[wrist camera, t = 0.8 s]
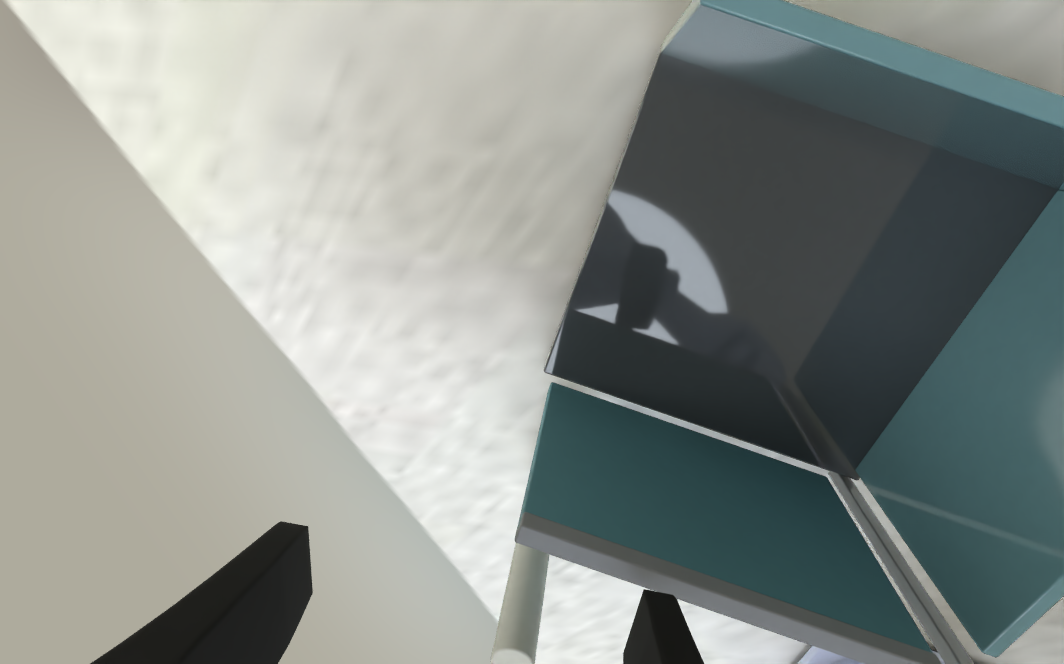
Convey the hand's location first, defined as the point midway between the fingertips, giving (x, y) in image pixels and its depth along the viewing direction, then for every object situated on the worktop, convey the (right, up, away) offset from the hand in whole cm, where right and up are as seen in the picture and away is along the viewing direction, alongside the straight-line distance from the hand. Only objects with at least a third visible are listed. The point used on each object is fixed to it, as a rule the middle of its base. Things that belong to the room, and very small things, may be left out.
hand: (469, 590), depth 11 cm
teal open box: (+9, +7, +6) cm, 13 cm away
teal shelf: (+6, 0, +9) cm, 11 cm away
